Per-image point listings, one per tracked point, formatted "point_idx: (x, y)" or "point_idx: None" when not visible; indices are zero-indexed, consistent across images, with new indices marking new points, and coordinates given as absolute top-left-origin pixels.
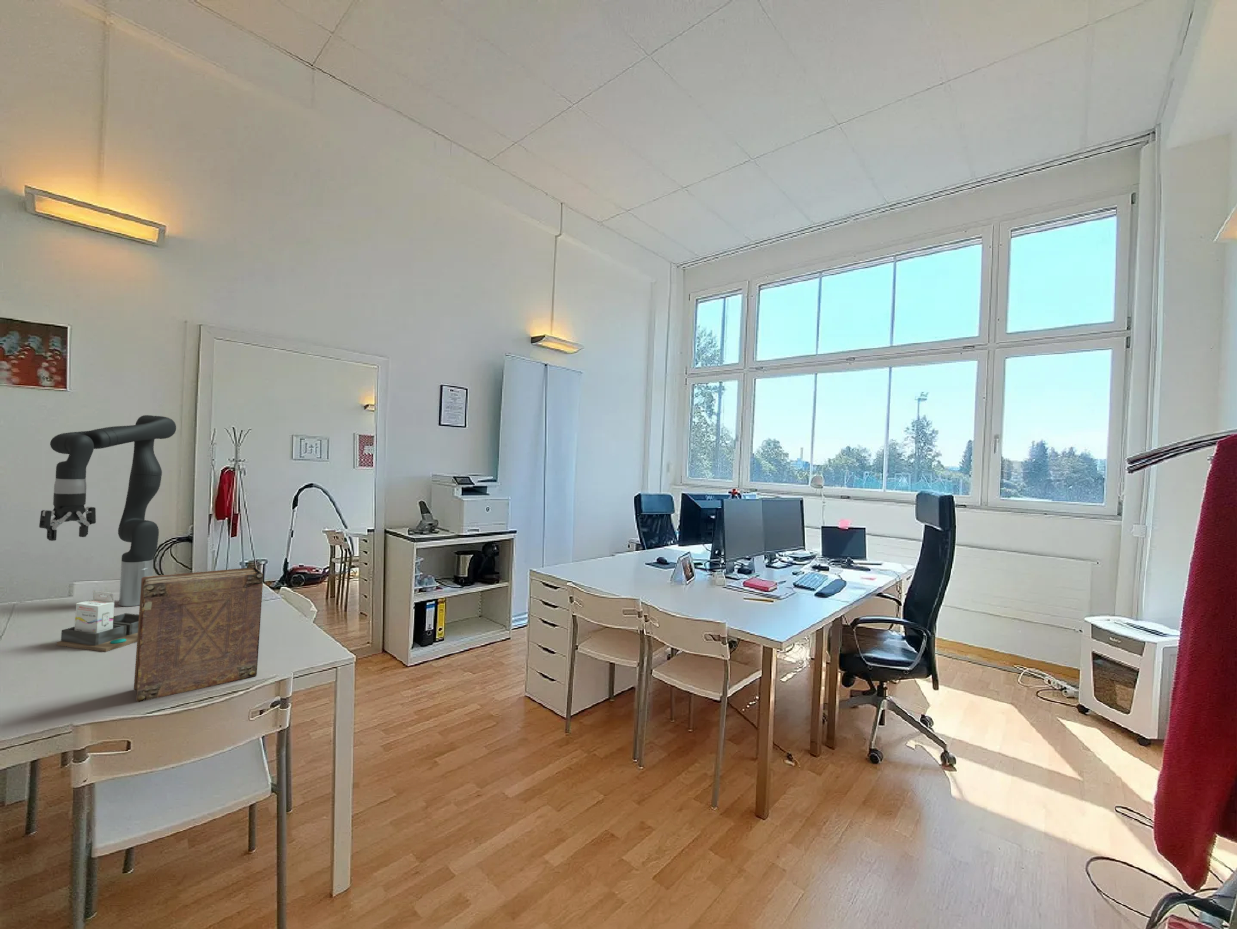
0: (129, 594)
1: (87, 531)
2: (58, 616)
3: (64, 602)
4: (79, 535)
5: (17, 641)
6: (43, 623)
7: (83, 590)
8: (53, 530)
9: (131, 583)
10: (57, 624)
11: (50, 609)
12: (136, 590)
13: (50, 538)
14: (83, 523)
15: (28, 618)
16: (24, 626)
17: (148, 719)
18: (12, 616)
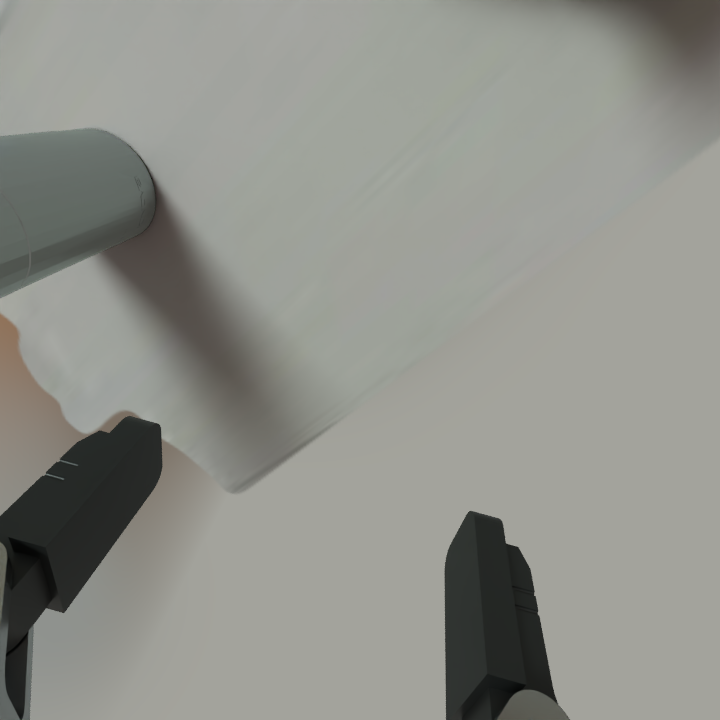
0: (115, 180)
1: (60, 468)
2: (309, 312)
3: (184, 404)
4: (153, 483)
5: (600, 206)
6: (386, 295)
7: None
8: (519, 679)
9: (72, 184)
10: (394, 242)
11: (251, 387)
12: (84, 159)
13: (521, 560)
14: (3, 628)
15: (341, 374)
16: (421, 323)
17: None
18: (330, 423)
